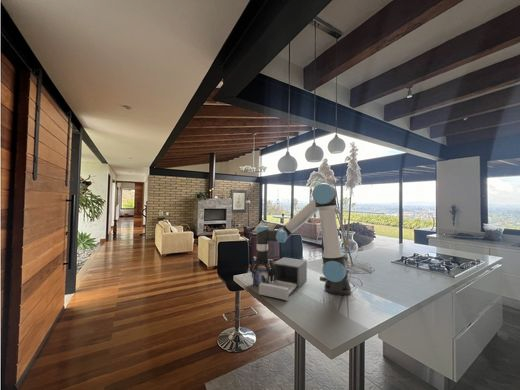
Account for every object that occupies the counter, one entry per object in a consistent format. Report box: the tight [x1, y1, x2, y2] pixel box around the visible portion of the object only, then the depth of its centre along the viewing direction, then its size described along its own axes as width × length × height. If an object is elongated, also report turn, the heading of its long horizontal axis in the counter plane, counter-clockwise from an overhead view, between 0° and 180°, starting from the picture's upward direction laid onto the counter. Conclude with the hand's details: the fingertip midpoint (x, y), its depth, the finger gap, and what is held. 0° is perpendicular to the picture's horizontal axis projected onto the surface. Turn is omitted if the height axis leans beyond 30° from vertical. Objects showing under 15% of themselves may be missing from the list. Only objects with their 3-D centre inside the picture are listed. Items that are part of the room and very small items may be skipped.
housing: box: [272, 257, 308, 290], centre depth 148 cm, size 17×18×14 cm
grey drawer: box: [258, 280, 297, 301], centre depth 130 cm, size 17×21×6 cm
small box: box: [252, 266, 270, 288], centre depth 141 cm, size 11×6×10 cm, turn 68°
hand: (262, 284), depth 141 cm, fingers closed on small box, 11 cm apart
